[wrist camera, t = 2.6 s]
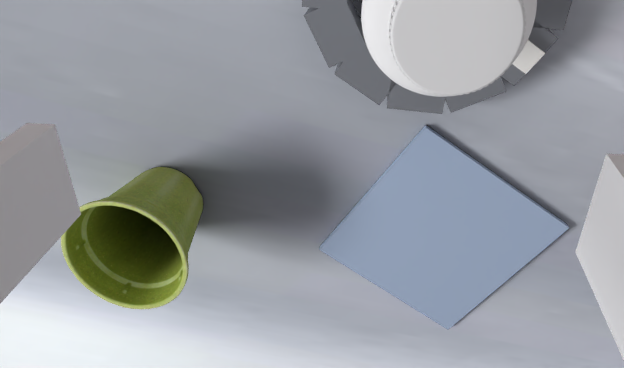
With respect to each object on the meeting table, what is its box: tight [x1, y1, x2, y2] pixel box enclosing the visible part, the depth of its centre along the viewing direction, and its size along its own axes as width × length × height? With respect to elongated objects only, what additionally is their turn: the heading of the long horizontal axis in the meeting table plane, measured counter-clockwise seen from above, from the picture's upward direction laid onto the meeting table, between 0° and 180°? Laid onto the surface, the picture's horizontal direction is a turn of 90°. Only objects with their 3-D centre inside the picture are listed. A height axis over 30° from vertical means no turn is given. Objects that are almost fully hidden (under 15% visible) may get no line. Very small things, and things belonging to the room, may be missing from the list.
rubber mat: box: [319, 125, 569, 329], centre depth 43 cm, size 14×14×1 cm
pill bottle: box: [361, 0, 537, 97], centre depth 27 cm, size 8×8×15 cm
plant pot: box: [61, 167, 203, 309], centre depth 41 cm, size 9×9×9 cm
